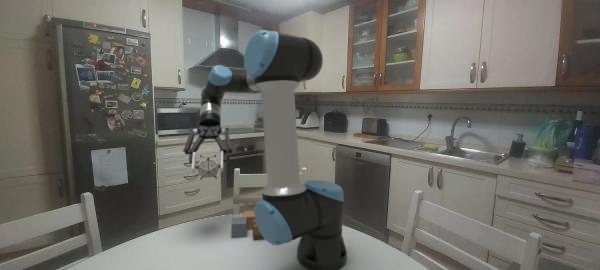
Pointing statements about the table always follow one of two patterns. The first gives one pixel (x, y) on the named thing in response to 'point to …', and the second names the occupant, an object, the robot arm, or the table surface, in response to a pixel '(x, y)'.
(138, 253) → the table surface
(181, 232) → the table surface
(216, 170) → the game die
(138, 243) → the table surface
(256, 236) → the walnut block
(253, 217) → the terracotta block
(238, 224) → the slate block
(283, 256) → the table surface
